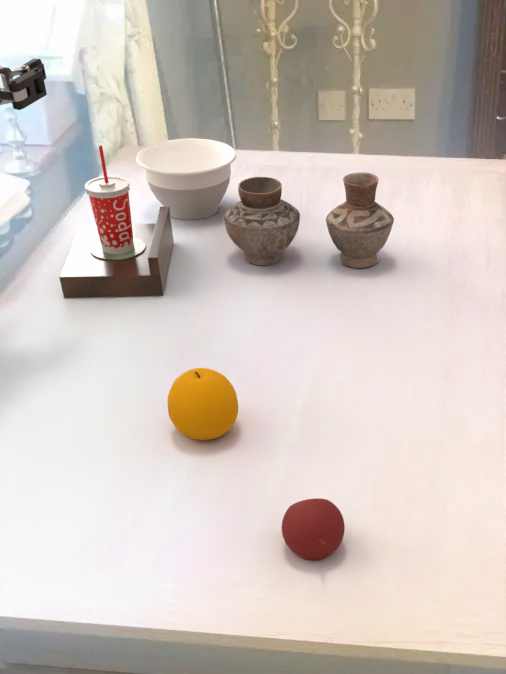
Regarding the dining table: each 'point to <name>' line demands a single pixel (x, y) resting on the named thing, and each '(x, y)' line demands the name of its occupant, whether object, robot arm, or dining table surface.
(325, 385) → the dining table surface
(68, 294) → the shelf
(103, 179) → the beverage cup
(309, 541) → the fruit
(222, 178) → the bowl
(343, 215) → the pottery
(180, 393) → the apple
